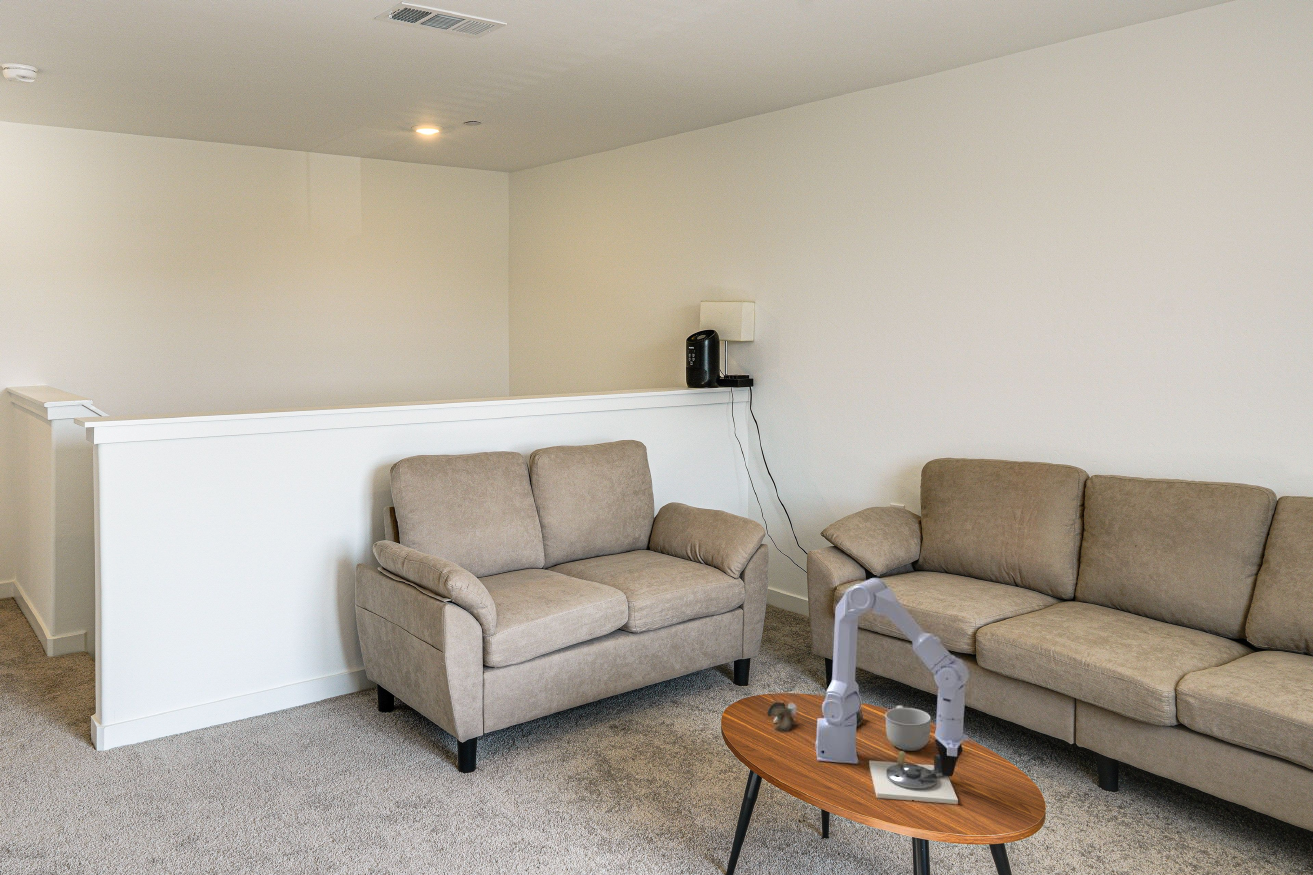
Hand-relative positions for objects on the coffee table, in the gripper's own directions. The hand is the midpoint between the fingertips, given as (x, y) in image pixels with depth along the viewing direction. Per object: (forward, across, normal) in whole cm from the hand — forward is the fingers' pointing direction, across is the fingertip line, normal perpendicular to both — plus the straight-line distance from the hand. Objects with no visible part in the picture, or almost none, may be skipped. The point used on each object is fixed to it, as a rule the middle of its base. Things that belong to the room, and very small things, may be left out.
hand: (947, 774), depth 205 cm
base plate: (+3, 0, +8) cm, 8 cm away
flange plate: (+2, +1, +6) cm, 6 cm away
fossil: (+3, +33, +23) cm, 40 cm away
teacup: (+3, +23, +8) cm, 25 cm away
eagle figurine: (+3, +27, +39) cm, 47 cm away
